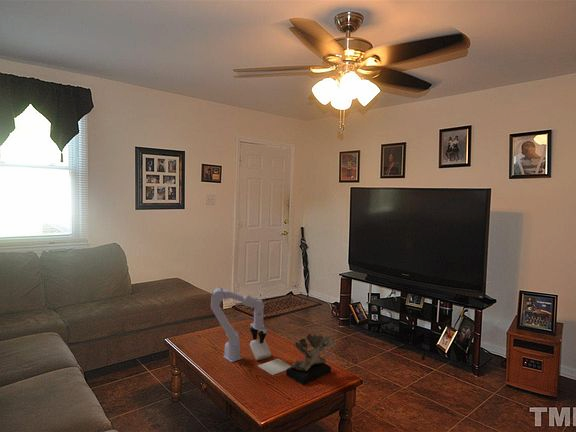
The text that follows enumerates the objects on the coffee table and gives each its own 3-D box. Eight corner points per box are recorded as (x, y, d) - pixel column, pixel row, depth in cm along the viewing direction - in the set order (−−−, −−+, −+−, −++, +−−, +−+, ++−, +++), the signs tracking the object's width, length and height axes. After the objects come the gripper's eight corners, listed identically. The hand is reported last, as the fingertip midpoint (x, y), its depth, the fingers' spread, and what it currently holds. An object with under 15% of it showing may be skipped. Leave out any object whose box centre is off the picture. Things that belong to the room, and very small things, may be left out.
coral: (318, 362, 223) (319, 327, 222) (343, 375, 208) (344, 337, 206) (285, 374, 207) (286, 336, 206) (310, 390, 192) (311, 349, 190)
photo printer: (270, 357, 228) (262, 340, 236) (272, 353, 226) (264, 336, 234) (255, 361, 223) (247, 343, 230) (257, 357, 220) (249, 339, 228)
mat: (257, 366, 217) (257, 365, 217) (277, 358, 226) (277, 358, 226) (272, 375, 206) (272, 375, 206) (293, 367, 216) (293, 367, 216)
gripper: (271, 321, 224) (270, 343, 226) (257, 314, 235) (256, 336, 237) (261, 324, 220) (261, 346, 221) (247, 317, 231) (247, 338, 232)
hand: (258, 341), depth 228 cm, fingers open, 6 cm apart
